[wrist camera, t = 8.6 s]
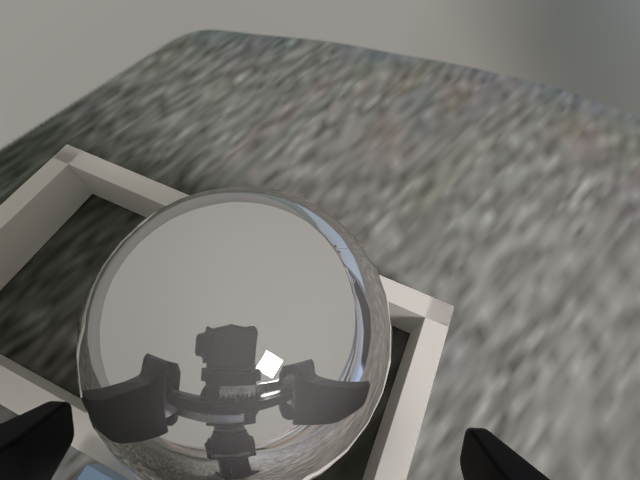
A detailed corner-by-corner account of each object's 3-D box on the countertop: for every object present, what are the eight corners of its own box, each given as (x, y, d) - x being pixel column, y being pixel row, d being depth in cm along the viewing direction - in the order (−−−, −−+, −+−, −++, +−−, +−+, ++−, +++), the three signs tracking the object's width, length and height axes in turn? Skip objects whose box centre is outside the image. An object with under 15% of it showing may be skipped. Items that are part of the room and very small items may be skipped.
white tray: (350, 612, 13) (365, 662, 10) (-88, 355, 16) (-178, 333, 13) (435, 323, 18) (463, 297, 15) (90, 175, 21) (55, 129, 18)
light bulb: (162, 450, 15) (-160, 451, 5) (226, 292, 18) (124, 85, 8) (330, 500, 14) (404, 636, 4) (364, 328, 18) (452, 155, 7)
